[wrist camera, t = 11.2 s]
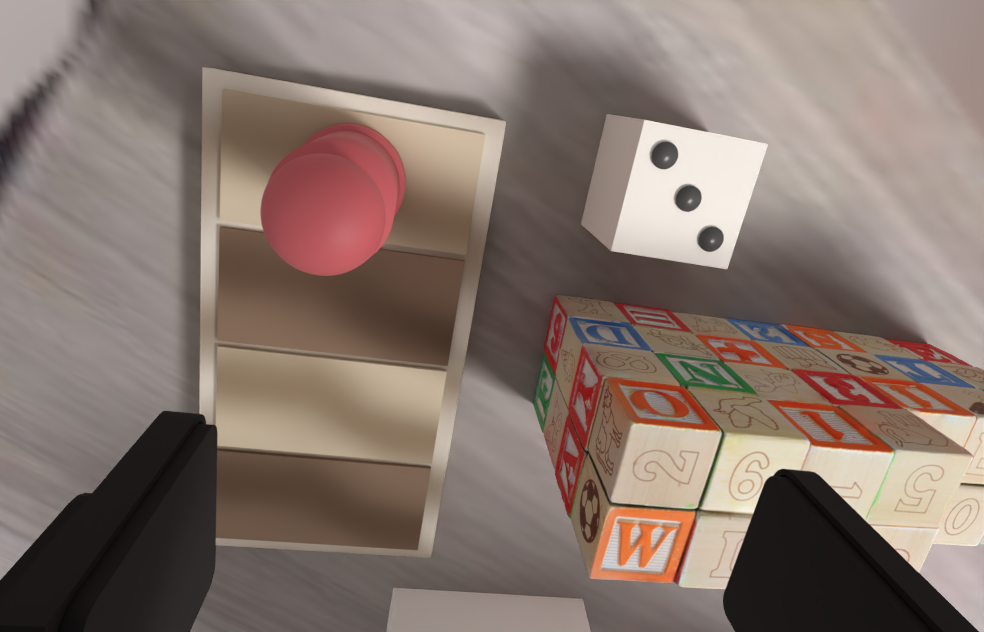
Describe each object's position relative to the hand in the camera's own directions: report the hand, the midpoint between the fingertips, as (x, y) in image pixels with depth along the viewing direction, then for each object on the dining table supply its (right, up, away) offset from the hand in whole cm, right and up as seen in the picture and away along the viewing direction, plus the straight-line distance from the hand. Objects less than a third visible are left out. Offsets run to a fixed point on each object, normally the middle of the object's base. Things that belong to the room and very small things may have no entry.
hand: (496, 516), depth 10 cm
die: (+7, +10, +18) cm, 21 cm away
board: (-7, +2, +19) cm, 21 cm away
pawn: (-6, +9, +15) cm, 18 cm away
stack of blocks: (+13, +1, +22) cm, 26 cm away
